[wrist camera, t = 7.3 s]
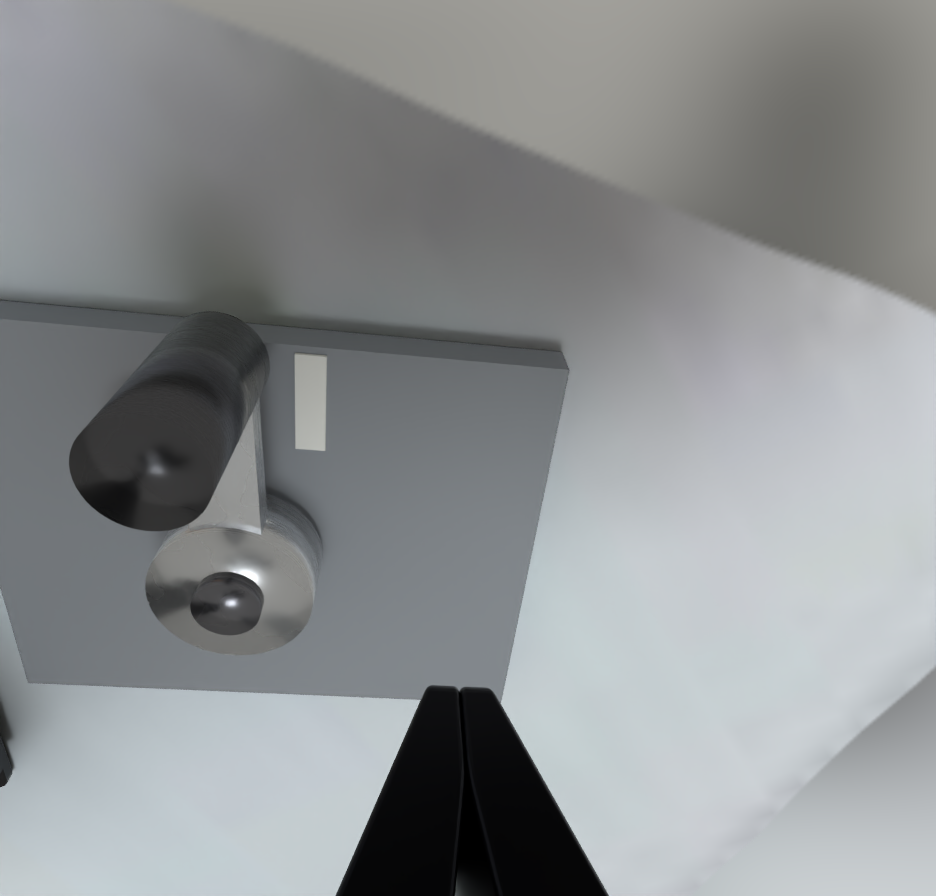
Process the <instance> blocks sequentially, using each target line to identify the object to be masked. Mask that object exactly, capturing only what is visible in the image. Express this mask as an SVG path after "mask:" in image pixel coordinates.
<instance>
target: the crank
mask: <svg viewBox="0 0 936 896" xmlns="http://www.w3.org/2000/svg"><path fill="white" fill-rule="evenodd" d="M269 373H270V360H269V355H268V351H267V349H266V347H265V345H264V343H263V341H262V339H261V338H260V337H259V335H258V334H257V333H256V332H255V331H254V330H253V329H252V328H251V327H250V326H248V325H247V324H246V323H244V322H243V321H241V320H239V319H237V318H235V317H233V316H230V315H228V314H224V313H220V312H199V313H195V314H192V315H189V316H187V317H185V318H184V319H182V320H181V321H179V322H178V323H177V324H176V325H175V326H174V327H173V328H172V329H171V331H170V332H169V333H168V334H167V335H166V336H165V337H164V339H163V340H162V341H161V342H160V343H159V344H158V345H157V346H156V348H155V349H154V350H153V351H152V352H151V353H150V354H149V356H148V357H147V358H146V359H145V360H144V361H143V362H142V363H141V365H140V366H139V367H138V368H137V369H136V370H135V371H134V373H133V374H132V375H131V376H130V377H129V378H128V379H127V380H126V382H125V383H124V384H123V385H122V386H121V387H120V388H119V390H118V391H117V392H116V393H115V394H114V395H113V396H112V397H111V399H110V400H109V401H108V402H107V403H106V404H105V405H104V407H103V408H102V409H101V410H100V411H99V412H98V413H97V415H96V416H95V417H94V418H93V419H92V420H91V421H90V422H89V424H88V425H87V426H86V427H85V428H84V429H83V430H82V432H81V433H80V434H79V435H78V436H77V437H76V439H75V441H74V442H73V445H72V447H71V450H70V455H69V468H70V474H71V477H72V480H73V482H74V484H75V486H76V488H77V490H78V491H79V493H80V495H81V496H82V497H83V498H84V499H85V501H86V502H87V503H88V504H89V505H90V506H91V507H92V508H94V509H95V510H96V511H97V512H99V513H100V514H102V515H103V516H105V517H106V518H108V519H110V520H112V521H114V522H116V523H118V524H121V525H123V526H126V527H129V528H133V529H137V530H143V531H168V530H169V531H168V533H167V535H166V537H165V539H164V540H163V542H162V544H161V546H160V548H159V550H158V552H157V554H156V556H155V557H154V559H153V561H152V563H151V565H150V567H149V569H148V572H147V575H146V581H145V591H146V597H147V600H148V603H149V606H150V608H151V610H152V612H153V613H154V615H155V616H156V618H157V619H158V620H159V621H160V622H161V624H162V625H163V626H164V627H165V628H166V629H168V630H169V631H170V632H171V633H172V634H174V635H175V636H177V637H178V638H180V639H181V640H183V641H185V642H187V643H189V644H191V645H193V646H195V647H198V648H201V649H203V650H206V651H210V652H214V653H219V654H225V655H253V654H260V653H264V652H268V651H271V650H274V649H277V648H279V647H281V646H283V645H285V644H287V643H288V642H290V641H291V640H293V639H294V638H295V637H296V636H298V634H299V633H300V632H301V631H302V630H303V629H304V627H305V626H306V624H307V623H308V620H309V618H310V616H311V612H312V608H313V603H314V598H315V593H316V588H317V584H318V579H319V574H320V569H321V565H322V557H323V551H322V544H321V541H320V538H319V535H318V533H317V531H316V529H315V528H314V526H313V524H312V523H311V522H310V521H309V519H308V518H307V517H306V516H305V515H304V514H303V513H302V512H301V511H300V510H298V509H297V508H296V507H294V506H293V505H292V504H290V503H288V502H286V501H285V500H283V499H281V498H279V497H276V496H274V495H271V494H268V493H266V487H265V472H264V457H263V442H262V428H261V413H260V398H259V397H260V395H261V393H262V391H263V389H264V387H265V385H266V383H267V380H268V377H269Z"/></svg>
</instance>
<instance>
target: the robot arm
mask: <svg viewBox="0 0 936 896" xmlns="http://www.w3.org/2000/svg"><path fill="white" fill-rule="evenodd" d="M11 775H12V768H11V765H10V762H9V759H8V756H7V753H6V750H5V747H4V745H3V742H2V739H1V736H0V787H2V786H5V785H6V784H7V782H8V780H9V778H10V777H11ZM336 896H609V895H608V893H607V892H606V890H605V888H604V886H603V884H602V883H601V881H600V879H599V877H598V876H597V874H596V872H595V870H594V868H593V867H592V865H591V863H590V861H589V860H588V858H587V856H586V854H585V852H584V851H583V849H582V847H581V845H580V844H579V842H578V840H577V838H576V837H575V835H574V833H573V831H572V829H571V828H570V826H569V824H568V822H567V821H566V819H565V817H564V815H563V813H562V812H561V810H560V808H559V806H558V805H557V803H556V801H555V799H554V798H553V796H552V794H551V792H550V790H549V789H548V787H547V785H546V783H545V782H544V780H543V778H542V776H541V774H540V773H539V771H538V769H537V767H536V766H535V764H534V762H533V760H532V759H531V757H530V755H529V753H528V751H527V750H526V748H525V746H524V744H523V743H522V741H521V739H520V737H519V735H518V734H517V732H516V730H515V728H514V727H513V725H512V723H511V721H510V719H509V718H508V716H507V714H506V712H505V711H504V709H503V707H502V705H501V704H500V702H499V700H498V698H497V696H496V695H495V693H494V692H493V691H492V690H491V689H490V688H486V687H463V688H461V689H460V691H459V690H458V688H456V687H455V686H441V685H430V686H428V687H427V688H426V690H425V692H424V694H423V696H422V698H421V701H420V703H419V705H418V708H417V710H416V712H415V714H414V717H413V719H412V721H411V724H410V726H409V728H408V731H407V733H406V735H405V737H404V740H403V742H402V744H401V747H400V749H399V751H398V754H397V756H396V758H395V760H394V763H393V765H392V767H391V770H390V772H389V774H388V777H387V779H386V781H385V783H384V786H383V788H382V790H381V793H380V795H379V797H378V800H377V802H376V804H375V806H374V809H373V811H372V813H371V816H370V818H369V820H368V823H367V825H366V827H365V829H364V832H363V834H362V836H361V839H360V841H359V843H358V846H357V848H356V850H355V852H354V855H353V857H352V859H351V862H350V864H349V866H348V869H347V871H346V873H345V875H344V878H343V880H342V882H341V885H340V887H339V889H338V892H337V894H336Z"/></svg>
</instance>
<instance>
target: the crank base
mask: <svg viewBox="0 0 936 896" xmlns="http://www.w3.org/2000/svg"><path fill="white" fill-rule="evenodd" d="M184 318H185V317H176V316H166V315H155V314H144V313H133V312H122V311H111V310H101V309H90V308H79V307H68V306H57V305H46V304H35V303H25V302H14V301H3V300H0V588H1V591H2V595H3V598H4V602H5V605H6V608H7V612H8V615H9V619H10V622H11V626H12V629H13V632H14V636H15V639H16V643H17V646H18V650H19V653H20V656H21V660H22V663H23V667H24V670H25V674H26V677H27V681H28V683H43V684H66V685H90V686H113V687H136V688H160V689H183V690H207V691H230V692H253V693H277V694H300V695H323V696H347V697H370V698H394V699H417V700H421V698H422V696H423V694H424V692H425V690H426V688H427V687H428V686H430V685H441V686H455V687H456V688H458V690H459V691H460V689H461V688H463V687H486V688H490V689H491V690H492V691H493V692H494V693H495V695H496V696H497V698H498V700H499V702H500V703H501V700H502V695H503V690H504V686H505V681H506V676H507V671H508V666H509V661H510V656H511V652H512V647H513V642H514V637H515V632H516V627H517V622H518V618H519V613H520V608H521V603H522V598H523V593H524V588H525V584H526V579H527V574H528V569H529V564H530V559H531V554H532V550H533V545H534V540H535V535H536V530H537V525H538V520H539V516H540V511H541V506H542V501H543V496H544V491H545V486H546V482H547V477H548V472H549V467H550V462H551V457H552V452H553V448H554V443H555V438H556V433H557V428H558V423H559V418H560V414H561V409H562V404H563V399H564V394H565V389H566V384H567V380H568V375H569V368H568V365H567V363H566V360H565V358H564V355H563V353H562V352H556V351H545V350H534V349H524V348H513V347H502V346H491V345H480V344H469V343H458V342H448V341H437V340H426V339H415V338H404V337H393V336H383V335H372V334H361V333H350V332H339V331H328V330H317V329H307V328H296V327H285V326H274V325H263V324H252V323H246V324H247V325H248V326H250V327H251V328H252V329H253V330H254V331H255V332H256V333H257V334H258V335H259V337H260V338H261V339H262V341H263V343H264V345H265V347H266V349H267V351H268V355H269V360H270V373H269V377H268V380H267V383H266V385H265V387H264V389H263V391H262V393H261V395H260V397H259V398H260V413H261V428H262V442H263V457H264V472H265V487H266V493H268V494H271V495H274V496H276V497H279V498H281V499H283V500H285V501H286V502H288V503H290V504H292V505H293V506H294V507H296V508H297V509H298V510H300V511H301V512H302V513H303V514H304V515H305V516H306V517H307V518H308V519H309V521H310V522H311V523H312V524H313V526H314V528H315V529H316V531H317V533H318V535H319V538H320V541H321V544H322V551H323V557H322V565H321V569H320V574H319V579H318V584H317V588H316V593H315V598H314V603H313V608H312V612H311V616H310V618H309V620H308V623H307V624H306V626H305V627H304V629H303V630H302V631H301V632H300V633H299V634H298V636H296V637H295V638H294V639H293V640H291V641H290V642H288V643H287V644H285V645H283V646H281V647H279V648H277V649H274V650H271V651H268V652H264V653H260V654H253V655H225V654H219V653H214V652H210V651H206V650H203V649H201V648H198V647H195V646H193V645H191V644H189V643H187V642H185V641H183V640H181V639H180V638H178V637H177V636H175V635H174V634H172V633H171V632H170V631H169V630H168V629H166V628H165V627H164V626H163V625H162V624H161V622H160V621H159V620H158V619H157V618H156V616H155V615H154V613H153V612H152V610H151V608H150V606H149V603H148V600H147V597H146V591H145V581H146V575H147V572H148V569H149V567H150V565H151V563H152V561H153V559H154V557H155V556H156V554H157V552H158V550H159V548H160V546H161V544H162V542H163V540H164V539H165V537H166V535H167V533H168V531H169V530H168V531H143V530H137V529H133V528H129V527H126V526H123V525H121V524H118V523H116V522H114V521H112V520H110V519H108V518H106V517H105V516H103V515H102V514H100V513H99V512H97V511H96V510H95V509H94V508H92V507H91V506H90V505H89V504H88V503H87V502H86V501H85V499H84V498H83V497H82V496H81V495H80V493H79V491H78V490H77V488H76V486H75V484H74V482H73V480H72V477H71V474H70V468H69V455H70V450H71V447H72V445H73V442H74V441H75V439H76V437H77V436H78V435H79V434H80V433H81V432H82V430H83V429H84V428H85V427H86V426H87V425H88V424H89V422H90V421H91V420H92V419H93V418H94V417H95V416H96V415H97V413H98V412H99V411H100V410H101V409H102V408H103V407H104V405H105V404H106V403H107V402H108V401H109V400H110V399H111V397H112V396H113V395H114V394H115V393H116V392H117V391H118V390H119V388H120V387H121V386H122V385H123V384H124V383H125V382H126V380H127V379H128V378H129V377H130V376H131V375H132V374H133V373H134V371H135V370H136V369H137V368H138V367H139V366H140V365H141V363H142V362H143V361H144V360H145V359H146V358H147V357H148V356H149V354H150V353H151V352H152V351H153V350H154V349H155V348H156V346H157V345H158V344H159V343H160V342H161V341H162V340H163V339H164V337H165V336H166V335H167V334H168V333H169V332H170V331H171V329H172V328H173V327H174V326H175V325H176V324H177V323H178V322H179V321H181V320H182V319H184Z"/></svg>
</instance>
